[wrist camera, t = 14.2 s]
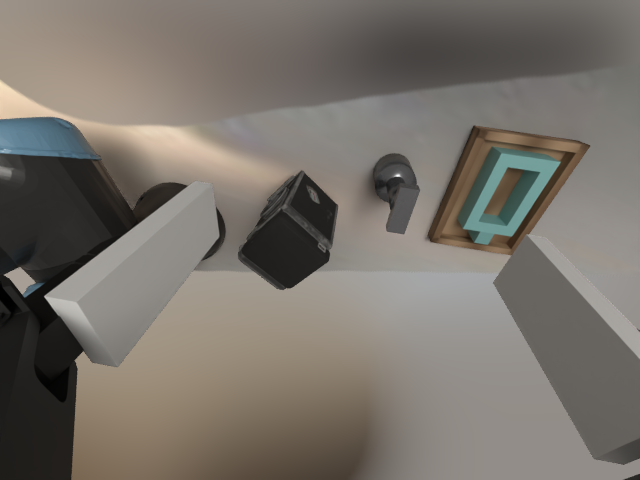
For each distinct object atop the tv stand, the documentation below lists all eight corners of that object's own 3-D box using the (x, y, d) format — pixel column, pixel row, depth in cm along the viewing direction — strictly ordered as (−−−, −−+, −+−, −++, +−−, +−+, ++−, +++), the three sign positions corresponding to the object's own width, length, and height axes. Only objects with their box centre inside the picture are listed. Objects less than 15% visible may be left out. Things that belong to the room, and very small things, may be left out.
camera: (257, 203, 45) (218, 259, 33) (298, 161, 40) (270, 208, 28) (302, 241, 48) (281, 305, 36) (345, 207, 43) (339, 268, 31)
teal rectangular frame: (491, 146, 35) (501, 153, 32) (546, 154, 34) (560, 162, 32) (451, 229, 42) (457, 239, 40) (496, 236, 42) (504, 247, 39)
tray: (427, 234, 44) (430, 242, 42) (474, 125, 34) (480, 129, 32) (507, 247, 43) (514, 255, 42) (578, 140, 34) (590, 145, 32)
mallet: (370, 186, 40) (372, 229, 31) (378, 149, 37) (384, 184, 27) (404, 191, 40) (418, 236, 30) (416, 155, 37) (435, 192, 27)
